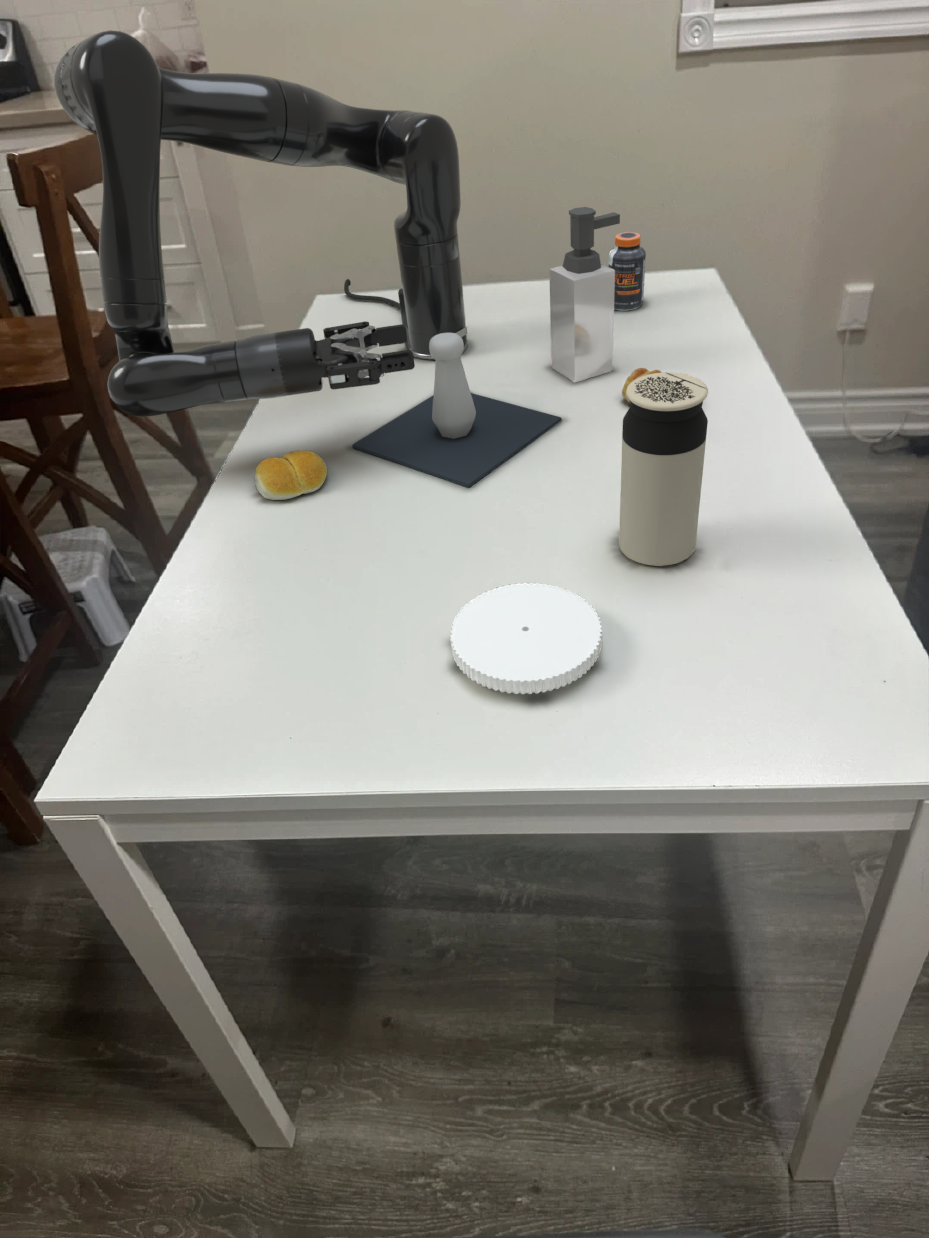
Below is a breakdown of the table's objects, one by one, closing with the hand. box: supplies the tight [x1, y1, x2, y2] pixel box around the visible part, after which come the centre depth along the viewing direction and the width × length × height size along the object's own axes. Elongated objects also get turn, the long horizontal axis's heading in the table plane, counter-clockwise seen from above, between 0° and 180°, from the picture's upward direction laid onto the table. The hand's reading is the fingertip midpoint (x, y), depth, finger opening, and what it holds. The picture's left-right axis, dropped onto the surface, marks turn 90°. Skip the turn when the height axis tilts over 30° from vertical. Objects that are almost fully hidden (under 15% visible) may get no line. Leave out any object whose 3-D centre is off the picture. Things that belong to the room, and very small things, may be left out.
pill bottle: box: [608, 231, 647, 312], centre depth 142 cm, size 6×6×11 cm
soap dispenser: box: [548, 206, 621, 384], centre depth 121 cm, size 6×9×22 cm
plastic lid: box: [449, 582, 603, 695], centre depth 81 cm, size 14×14×2 cm
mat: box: [351, 392, 562, 489], centre depth 116 cm, size 20×20×1 cm
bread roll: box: [254, 450, 328, 501], centre depth 108 cm, size 8×9×4 cm
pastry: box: [621, 367, 663, 404], centre depth 116 cm, size 9×7×4 cm
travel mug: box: [618, 371, 709, 567], centre depth 86 cm, size 8×8×18 cm
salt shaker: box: [429, 333, 476, 439], centre depth 111 cm, size 6×6×13 cm
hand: (409, 345), depth 107 cm, fingers open, 8 cm apart
